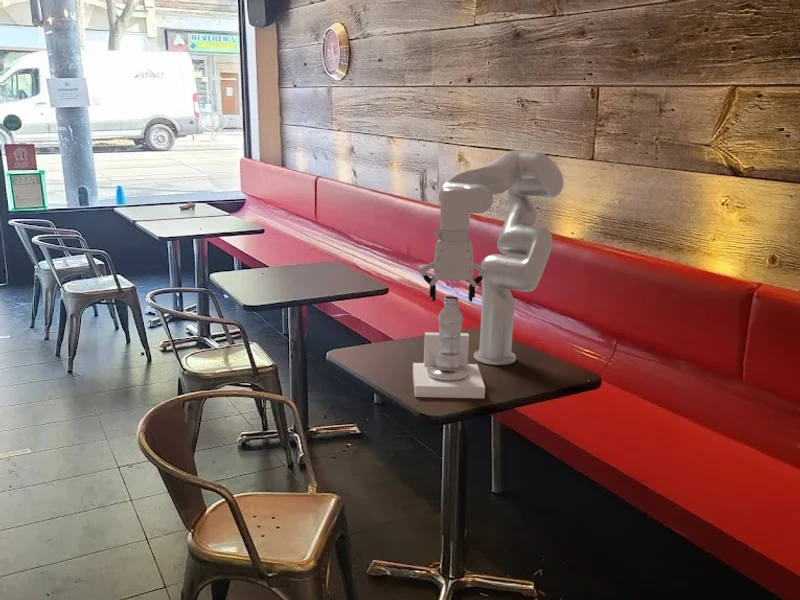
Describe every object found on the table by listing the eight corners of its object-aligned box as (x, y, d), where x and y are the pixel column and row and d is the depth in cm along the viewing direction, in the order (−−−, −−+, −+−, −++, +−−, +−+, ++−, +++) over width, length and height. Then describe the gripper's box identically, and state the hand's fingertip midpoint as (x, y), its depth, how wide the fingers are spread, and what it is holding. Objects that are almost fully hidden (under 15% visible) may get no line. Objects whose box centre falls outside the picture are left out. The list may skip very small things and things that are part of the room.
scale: (412, 372, 211) (414, 332, 208) (476, 374, 211) (478, 333, 208) (414, 396, 193) (416, 352, 190) (484, 398, 193) (487, 354, 190)
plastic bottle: (444, 364, 206) (448, 293, 201) (465, 369, 201) (468, 297, 196) (430, 369, 201) (433, 297, 196) (451, 376, 197) (454, 302, 192)
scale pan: (426, 366, 206) (426, 362, 206) (466, 367, 207) (466, 363, 206) (428, 380, 196) (428, 376, 196) (470, 381, 196) (470, 377, 196)
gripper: (421, 237, 188) (419, 303, 193) (489, 238, 189) (486, 304, 193) (420, 232, 195) (418, 295, 200) (486, 233, 196) (483, 296, 200)
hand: (452, 300), depth 197 cm, fingers open, 9 cm apart
